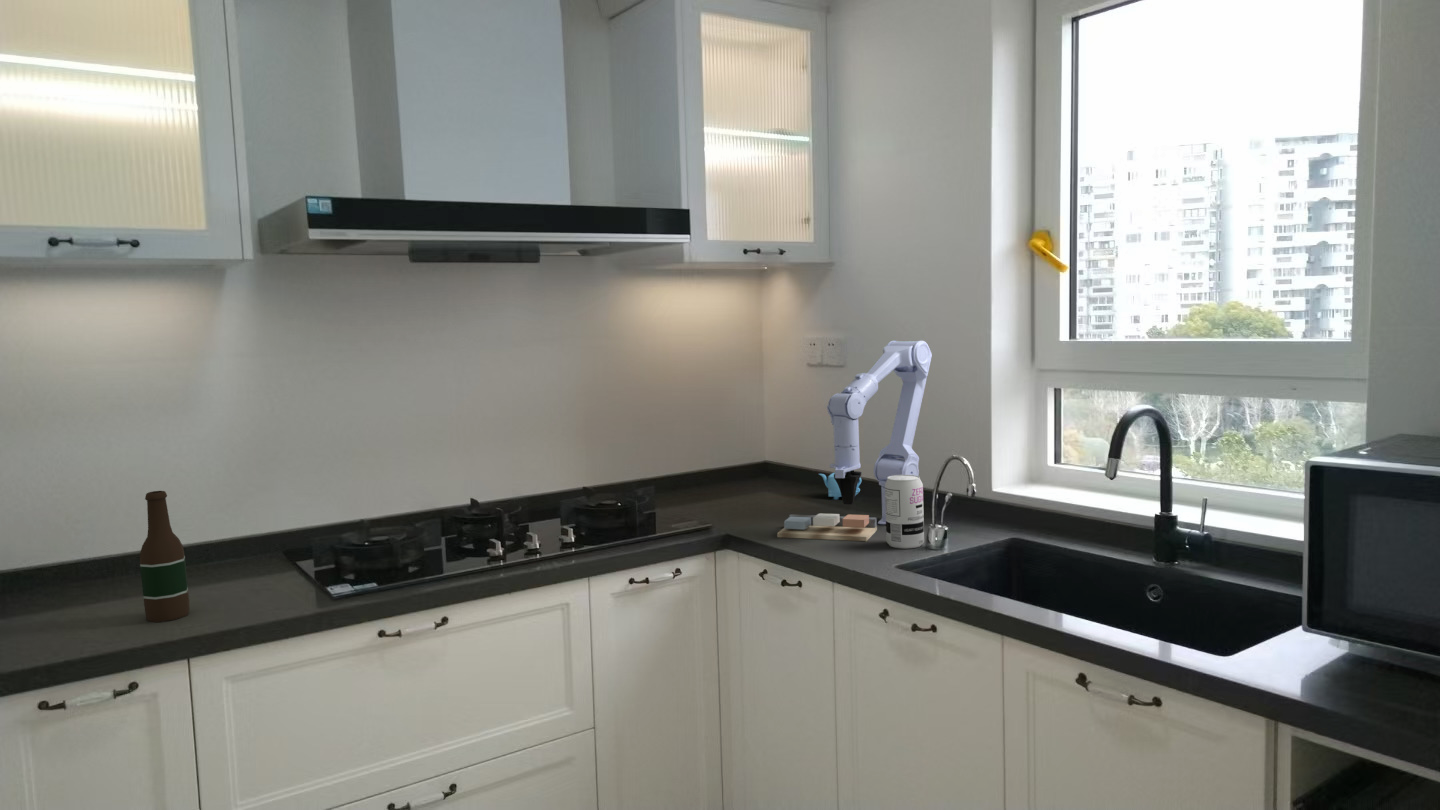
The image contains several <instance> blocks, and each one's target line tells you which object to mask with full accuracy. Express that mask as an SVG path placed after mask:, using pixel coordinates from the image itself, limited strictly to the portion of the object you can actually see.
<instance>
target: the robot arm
mask: <svg viewBox="0 0 1440 810" xmlns="http://www.w3.org/2000/svg"><path fill="white" fill-rule="evenodd" d="M932 356H933V353H932V351H931V349H930V347H929V345H928V343H927V342H926V341H925V340H915V341H913V340H911V341H908V340H907V341H906V340H903V341H901V340H890V341H889V342H888V343H887V344H886V345H885V346H884V347H883V348H882V355H881V356H880V357H879V358H878V360H876V362H875V363H874V365H873V366H872V367H871V368H870V369H869V370H868V371H867V372H862V373H857V374H855V376H854V379H852V381H851V382H849V384H848V385H846V386H845V387H844V388H843V390H842V391H841V392H839V393H834V394H833V395H832V396H831V397H830V398H829V401H828V405H826V408H827V413H828V415H829V417H830V420H831V421H830V423H831V425H832V426H833V448H834V449H833V450H834V451H833V453H834V454H833V455H834V463H830V464H829V468H833V469H834V473H835V474H834V479H835V480H836V482H837V484H838V486H839V489H840V492H841V496H842V497H841V499H842V503H843V505H853V504H854V503H855V498H856V496H855V494H856V488H857V484H858V483H859V481H860V480H859V479H860V478H861V476H862V471H856V470H858V469H861V467H862V466H861V465H862V464H861V462H860V461H861V458H860V453H861V452H860V431H859V429H860V428H859V426H860V425H859V418H860V417H862V415H863V413H864V409H865V407H866V405H867V402H868V401H869V400H870V399H871V398H873V396H874V395H875V394H876V393H877V392H878V390H879V383H881V382H882V380H884V379H885V378H886V377H887V376H888V375H890V373H892V372H894V374H895V375H896V376H897V377H899V378H900V379H901V380H902V386H901V390H900V395H899V400H898V404H897V409H896V413H895V419H894V423H893V426H892V431H891V436H890V440H889V441H890V442H889V444H887V445H886V446H884V447H883V448H882V449H880V451H879V455H878V458H877V459H876V461H875V463H874V465H873V475H874V478H875V480H876V481H878V485H879V486H881V487H880V488H881V514H882V515H881V516H882V517H881V519H879V520H878V522H877V525H886V507H885V483H886V481H887V479H888V477H889V476H893V475H915V476H920V475H919V474H920V470H919V468H920V467H919V462H920V457H919V455H918V454H917V453H916V451H914V449H913V444H914V439H915V434H916V431H917V425H918V420H919V417H920V411H921V407H922V402H923V397H924V393H925V389H926V384H927V377H928V375H929V370H930V367H931V366H930V365H931V363H932V362H931V361H932Z"/></svg>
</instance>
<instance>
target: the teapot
mask: <svg viewBox="0 0 1440 810" xmlns="http://www.w3.org/2000/svg"><path fill="white" fill-rule="evenodd" d="M834 474H835V472H832V473H830V474H829V475H828V476H826V474H824V473H818V475H819V476H821V477H822V479H823V483H824V484H825V487H826V489H827V490H828V493H827V494H828V497H830V498H831V497H833V498H832V500H839V499H840V498H842V496H841V492H840V489H839V486H838V484H837V482H836V480H835V479H834ZM862 481H863V480H862V477H860V479H859V481H858V484H857V488H856V494H855V497H856V496H857V495H859V493H860V491H861V488H860V485H861V483H862Z"/></svg>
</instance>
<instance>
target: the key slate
mask: <svg viewBox="0 0 1440 810" xmlns="http://www.w3.org/2000/svg"><path fill="white" fill-rule="evenodd" d="M783 523H784V524H783V525H784V527H783V528H785V529H804V530H805V529H806V528H808V527H809V526H810V525H811V517H789V518H786V519H785V520H784V521H783Z"/></svg>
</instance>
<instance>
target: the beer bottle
mask: <svg viewBox="0 0 1440 810" xmlns="http://www.w3.org/2000/svg"><path fill="white" fill-rule="evenodd" d="M167 497H168V494H167V492H166V491H165V490H153V491H149V492H146V493H145V498H144V500H146V505H147V508H146V509H147V510H146V511H147V536H146V537H145V539H144V542H143V544H142V545H141V548H140V552H139V567H140V579H141V587H142V596H143V597H142V598H143V605H144V615H145V619H146V621H147V622H151V623H152V622H153V623H162V622H163V623H164V622H170V621H176V620H179V619H183V618H184V617H187V616H189V614H190V613H189V612H190V595H189V586H188V573H187V566H186V565H187V564H186V556H185V550H184V545H183V544H182V542H181V540H180V538H179V537H178V536H177V535H176V534H175V533H174V532H173V530H172V529H173V528H172V527H171V522H170V516H169V512H168V511H169V510H168V504H167Z"/></svg>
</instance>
